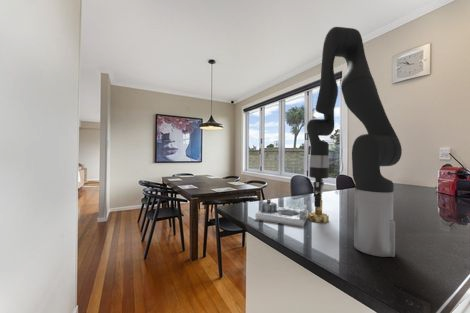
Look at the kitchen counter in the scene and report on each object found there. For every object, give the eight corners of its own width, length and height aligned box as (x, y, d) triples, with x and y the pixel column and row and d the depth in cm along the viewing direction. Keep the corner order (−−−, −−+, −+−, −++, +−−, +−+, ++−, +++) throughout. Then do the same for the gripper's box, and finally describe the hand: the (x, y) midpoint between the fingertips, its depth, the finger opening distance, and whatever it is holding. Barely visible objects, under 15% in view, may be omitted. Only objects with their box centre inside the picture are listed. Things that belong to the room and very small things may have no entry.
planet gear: (328, 218, 90) (329, 199, 90) (328, 223, 83) (328, 202, 83) (309, 216, 93) (309, 197, 93) (307, 220, 86) (307, 200, 86)
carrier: (308, 216, 93) (308, 199, 93) (303, 226, 78) (303, 207, 78) (266, 210, 101) (266, 195, 101) (254, 219, 87) (255, 201, 87)
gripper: (328, 167, 80) (327, 209, 80) (329, 165, 93) (328, 202, 93) (307, 166, 83) (306, 207, 83) (311, 165, 96) (310, 200, 96)
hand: (318, 204), depth 88 cm, fingers open, 8 cm apart
